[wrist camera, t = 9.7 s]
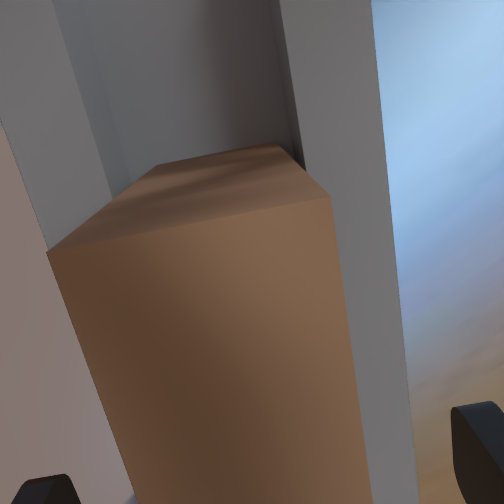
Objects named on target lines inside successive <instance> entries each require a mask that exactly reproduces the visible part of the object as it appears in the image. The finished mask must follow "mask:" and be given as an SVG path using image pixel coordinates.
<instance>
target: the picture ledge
mask: <svg viewBox="0 0 504 504" xmlns="http://www.w3.org/2000/svg"><path fill="white" fill-rule="evenodd" d="M0 120H1V122H2V125H3V128H4V130H5V133H6V136H7V139H8V141H9V144H10V146H11V149H12V152H13V155H14V157H15V160H16V163H17V165H18V168H19V171H20V174H21V176H22V179H23V182H24V184H25V187H26V190H27V192H28V195H29V198H30V201H31V203H32V206H33V209H34V211H35V214H36V217H37V220H38V222H39V225H40V227H41V230H42V233H43V236H44V238H45V241H46V244H47V246H48V249H49V250H50V249H51V248H52V247H54V246H55V245H56V244H57V243H59V242H60V241H61V240H63V239H64V238H65V237H66V236H68V235H69V234H70V233H71V232H73V231H74V230H75V229H76V228H78V227H79V226H80V225H81V224H83V223H84V222H85V221H86V220H88V219H89V218H90V217H92V216H93V215H94V214H95V213H97V212H98V211H99V210H100V209H102V208H103V207H104V206H105V205H107V204H108V203H109V202H110V201H112V200H113V199H114V198H115V197H117V196H118V195H119V194H121V193H122V192H123V191H124V190H126V189H127V188H128V187H129V186H131V185H132V184H133V183H134V182H136V181H137V180H138V179H139V178H141V177H142V176H143V175H144V174H146V173H147V172H148V171H150V170H151V169H152V168H153V167H155V166H156V165H159V164H164V163H169V162H174V161H179V160H184V159H189V158H194V157H198V156H203V155H208V154H213V153H218V152H223V151H228V150H233V149H238V148H243V147H248V146H253V145H258V144H263V143H267V142H272V141H275V142H276V143H277V144H278V145H279V146H280V147H281V148H282V149H283V150H284V151H285V152H286V153H287V154H288V155H290V156H291V157H292V158H293V159H294V160H295V161H296V162H297V163H298V164H299V165H300V166H301V167H302V168H303V169H304V170H305V171H306V172H307V173H308V174H309V175H310V176H311V177H312V178H313V179H314V180H315V181H316V182H317V183H318V184H319V185H320V186H321V187H322V188H323V189H324V190H325V191H326V192H327V193H328V194H329V195H330V196H331V202H332V209H333V217H334V224H335V231H336V238H337V246H338V253H339V260H340V267H341V275H342V282H343V289H344V296H345V304H346V311H347V318H348V326H349V333H350V340H351V347H352V355H353V362H354V369H355V376H356V384H357V391H358V398H359V405H360V413H361V420H362V427H363V435H364V442H365V449H366V456H367V464H368V471H369V478H370V485H371V493H372V500H373V504H420V503H419V493H418V483H417V472H416V462H415V452H414V441H413V431H412V421H411V411H410V400H409V390H408V380H407V369H406V359H405V349H404V339H403V328H402V318H401V308H400V298H399V287H398V277H397V267H396V256H395V246H394V236H393V226H392V215H391V205H390V195H389V184H388V174H387V164H386V154H385V143H384V133H383V123H382V112H381V102H380V92H379V82H378V71H377V61H376V51H375V41H374V30H373V20H372V10H371V0H0Z"/></svg>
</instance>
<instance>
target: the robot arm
mask: <svg viewBox="0 0 504 504" xmlns="http://www.w3.org/2000/svg"><path fill="white" fill-rule="evenodd" d="M451 430H452V448H453V464H454V471H455V475H456V479H457V482H458V485H459V488H460V491H461V493H462V495H463V497H464V499H465V501H466V503H467V504H504V413H503V412H502V410H501V409H500V408H499V407H498V406H497V405H496V404H495V403H494V402H492V401H486V402H481V403H475V404H469V405H463V406H458V407H453V408H452V410H451ZM11 504H81V502H80V500H79V498H78V496H77V493H76V491H75V488H74V486H73V484H72V481H71V479H70V478H69V476H67V475H66V474H59V475H54V476H48V477H42V478H36V479H30V480H28V481H26V482H25V483H24V484H23V485H22V486H21V487H20V489H19V491H18V493H17V494H16V496H15V498H14V500H13V501H12V503H11Z"/></svg>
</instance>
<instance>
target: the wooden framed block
mask: <svg viewBox="0 0 504 504" xmlns="http://www.w3.org/2000/svg"><path fill="white" fill-rule="evenodd" d="M46 253H47V256H48V259H49V262H50V264H51V267H52V270H53V272H54V275H55V278H56V280H57V283H58V286H59V289H60V291H61V294H62V297H63V299H64V302H65V305H66V308H67V310H68V313H69V316H70V319H71V321H72V324H73V327H74V329H75V332H76V335H77V338H78V340H79V343H80V345H81V348H82V351H83V354H84V357H85V359H86V362H87V365H88V367H89V370H90V373H91V375H92V378H93V381H94V384H95V386H96V389H97V392H98V395H99V397H100V400H101V402H102V405H103V408H104V411H105V413H106V416H107V419H108V421H109V424H110V427H111V430H112V432H113V435H114V438H115V441H116V443H117V446H118V449H119V452H120V454H121V457H122V459H123V462H124V465H125V468H126V471H127V473H128V476H129V479H130V481H131V484H132V487H133V490H134V492H135V495H136V498H137V500H138V503H139V504H373V500H372V493H371V485H370V478H369V471H368V464H367V456H366V449H365V442H364V435H363V427H362V420H361V413H360V405H359V398H358V391H357V384H356V376H355V369H354V362H353V355H352V347H351V340H350V333H349V326H348V318H347V311H346V304H345V296H344V289H343V282H342V275H341V267H340V260H339V253H338V246H337V238H336V231H335V224H334V217H333V209H332V202H331V196H330V195H329V194H328V193H327V192H326V191H325V190H324V189H323V188H322V187H321V186H320V185H319V184H318V183H317V182H316V181H315V180H314V179H313V178H312V177H311V176H310V175H309V174H308V173H307V172H306V171H305V170H304V169H303V168H302V167H301V166H300V165H299V164H298V163H297V162H296V161H295V160H294V159H293V158H292V157H291V156H290V155H288V154H287V153H286V152H285V151H284V150H283V149H282V148H281V147H280V146H279V145H278V144H277V143H276V142H275V141H272V142H267V143H263V144H258V145H253V146H248V147H243V148H238V149H233V150H228V151H223V152H218V153H213V154H208V155H203V156H198V157H194V158H189V159H184V160H179V161H174V162H169V163H164V164H159V165H156V166H155V167H153V168H152V169H151V170H150V171H148V172H147V173H146V174H144V175H143V176H142V177H141V178H139V179H138V180H137V181H136V182H134V183H133V184H132V185H131V186H129V187H128V188H127V189H126V190H124V191H123V192H122V193H121V194H119V195H118V196H117V197H115V198H114V199H113V200H112V201H110V202H109V203H108V204H107V205H105V206H104V207H103V208H102V209H100V210H99V211H98V212H97V213H95V214H94V215H93V216H92V217H90V218H89V219H88V220H86V221H85V222H84V223H83V224H81V225H80V226H79V227H78V228H76V229H75V230H74V231H73V232H71V233H70V234H69V235H68V236H66V237H65V238H64V239H63V240H61V241H60V242H59V243H57V244H56V245H55V246H54V247H52V248H51V249H50V250H49V251H47V252H46Z"/></svg>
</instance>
